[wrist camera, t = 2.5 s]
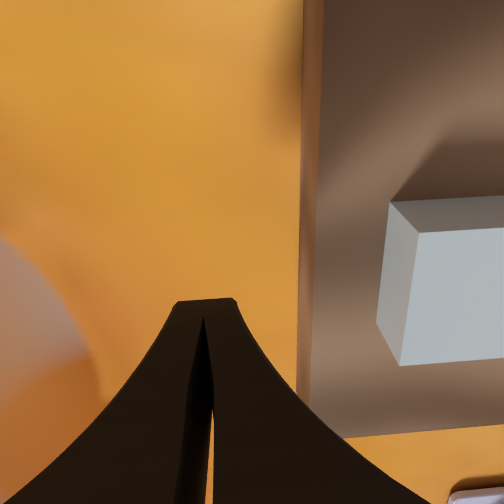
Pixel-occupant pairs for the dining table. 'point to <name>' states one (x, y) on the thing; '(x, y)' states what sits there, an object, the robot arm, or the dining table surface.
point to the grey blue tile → (443, 280)
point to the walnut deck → (390, 196)
